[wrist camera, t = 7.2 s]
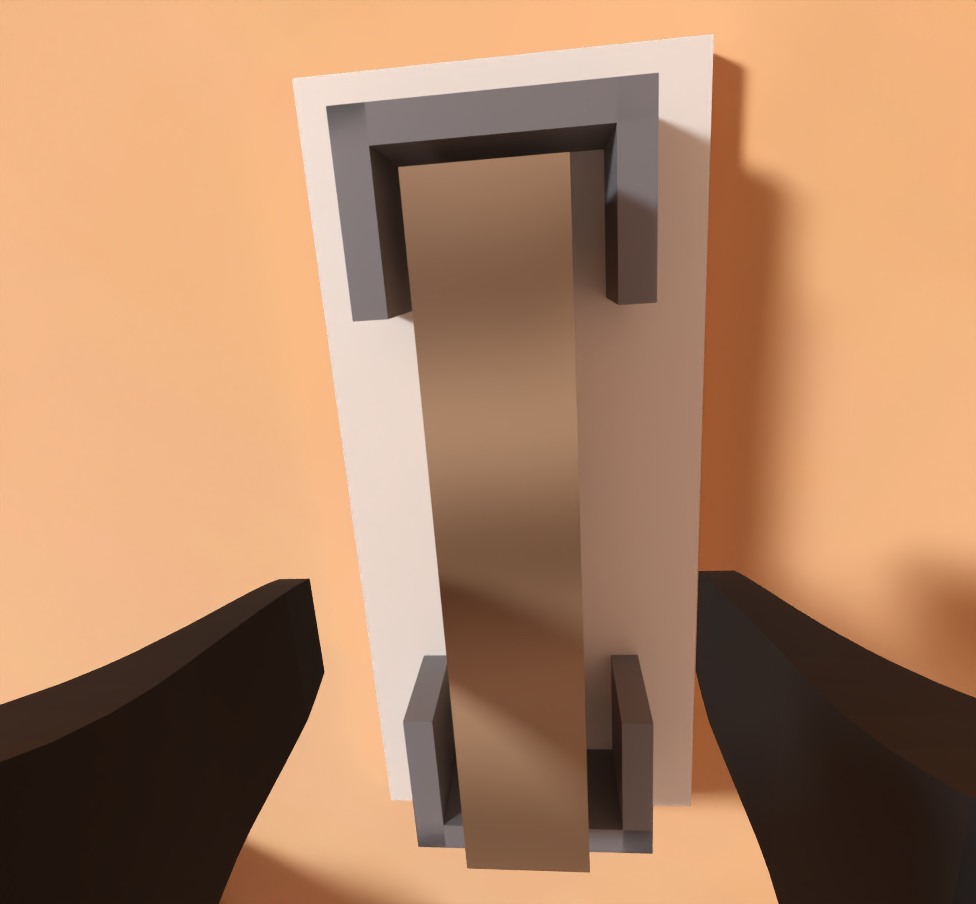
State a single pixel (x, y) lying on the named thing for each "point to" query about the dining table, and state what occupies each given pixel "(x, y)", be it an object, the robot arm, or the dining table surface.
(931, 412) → the dining table surface
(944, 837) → the robot arm
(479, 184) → the slat
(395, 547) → the board
